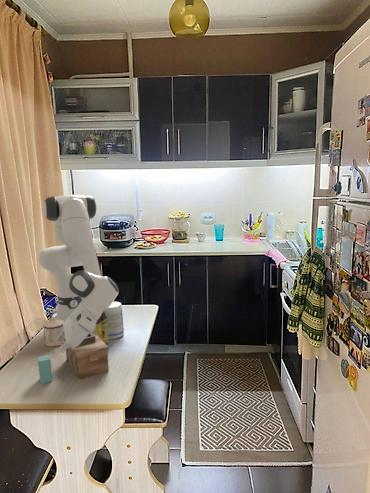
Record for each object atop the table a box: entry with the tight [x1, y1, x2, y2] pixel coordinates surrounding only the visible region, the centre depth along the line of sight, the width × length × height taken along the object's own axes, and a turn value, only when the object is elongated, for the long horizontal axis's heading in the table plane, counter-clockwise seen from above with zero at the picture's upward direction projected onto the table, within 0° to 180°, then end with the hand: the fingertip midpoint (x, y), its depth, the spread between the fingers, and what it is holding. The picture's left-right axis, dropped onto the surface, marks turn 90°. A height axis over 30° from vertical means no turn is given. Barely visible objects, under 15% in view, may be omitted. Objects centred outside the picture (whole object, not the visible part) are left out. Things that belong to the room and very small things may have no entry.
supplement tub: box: [104, 301, 125, 340], centre depth 187 cm, size 10×10×15 cm
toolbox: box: [64, 331, 110, 380], centre depth 159 cm, size 19×12×12 cm, turn 30°
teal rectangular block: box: [37, 354, 53, 385], centre depth 149 cm, size 4×4×8 cm
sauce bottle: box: [93, 311, 109, 346], centre depth 176 cm, size 6×6×20 cm
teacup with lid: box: [42, 316, 65, 347], centre depth 180 cm, size 12×9×12 cm
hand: (59, 345), depth 149 cm, fingers open, 8 cm apart
